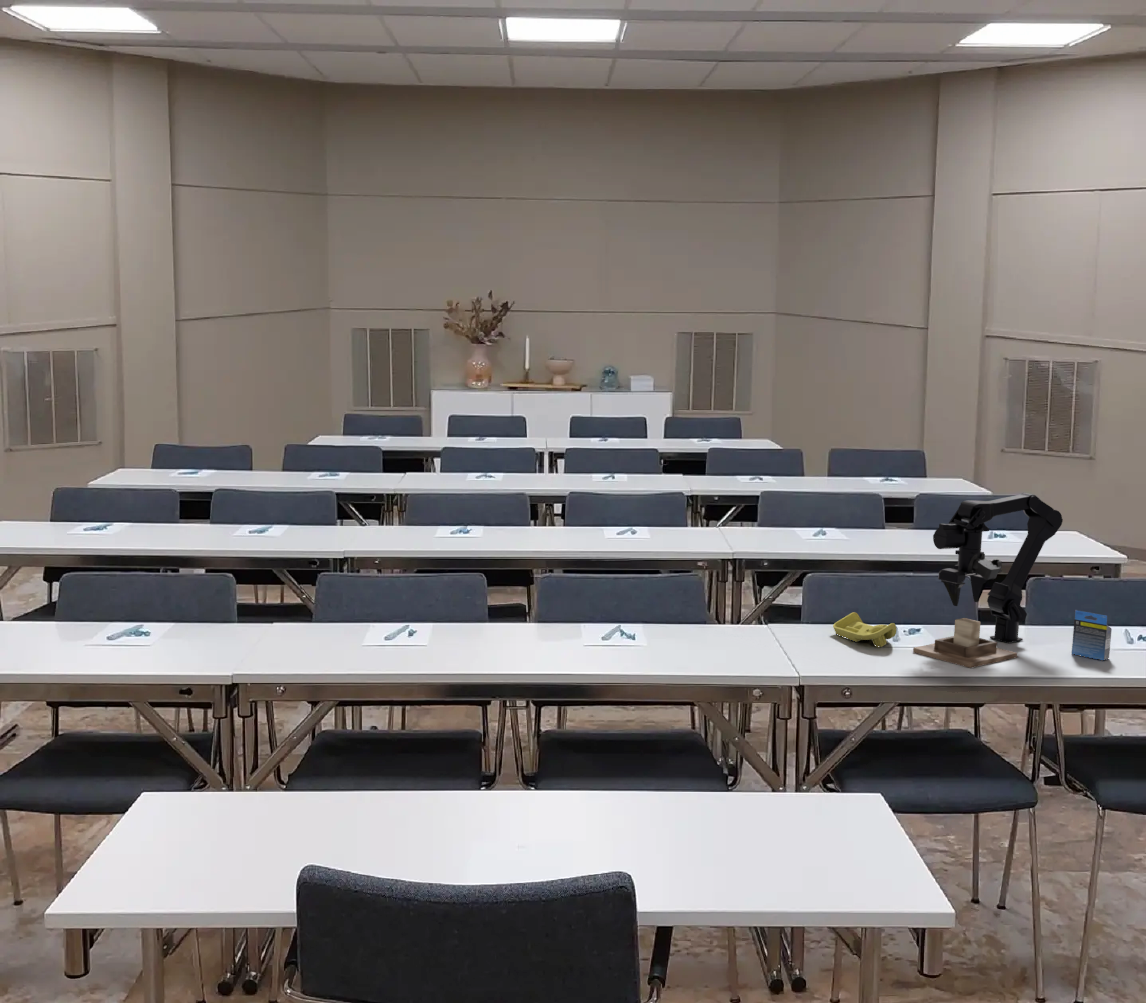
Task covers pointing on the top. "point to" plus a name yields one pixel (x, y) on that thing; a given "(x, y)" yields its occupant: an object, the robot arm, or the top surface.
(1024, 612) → the robot arm
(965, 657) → the holder board
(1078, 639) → the blue retail box
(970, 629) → the birch peg
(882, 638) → the plastic component
